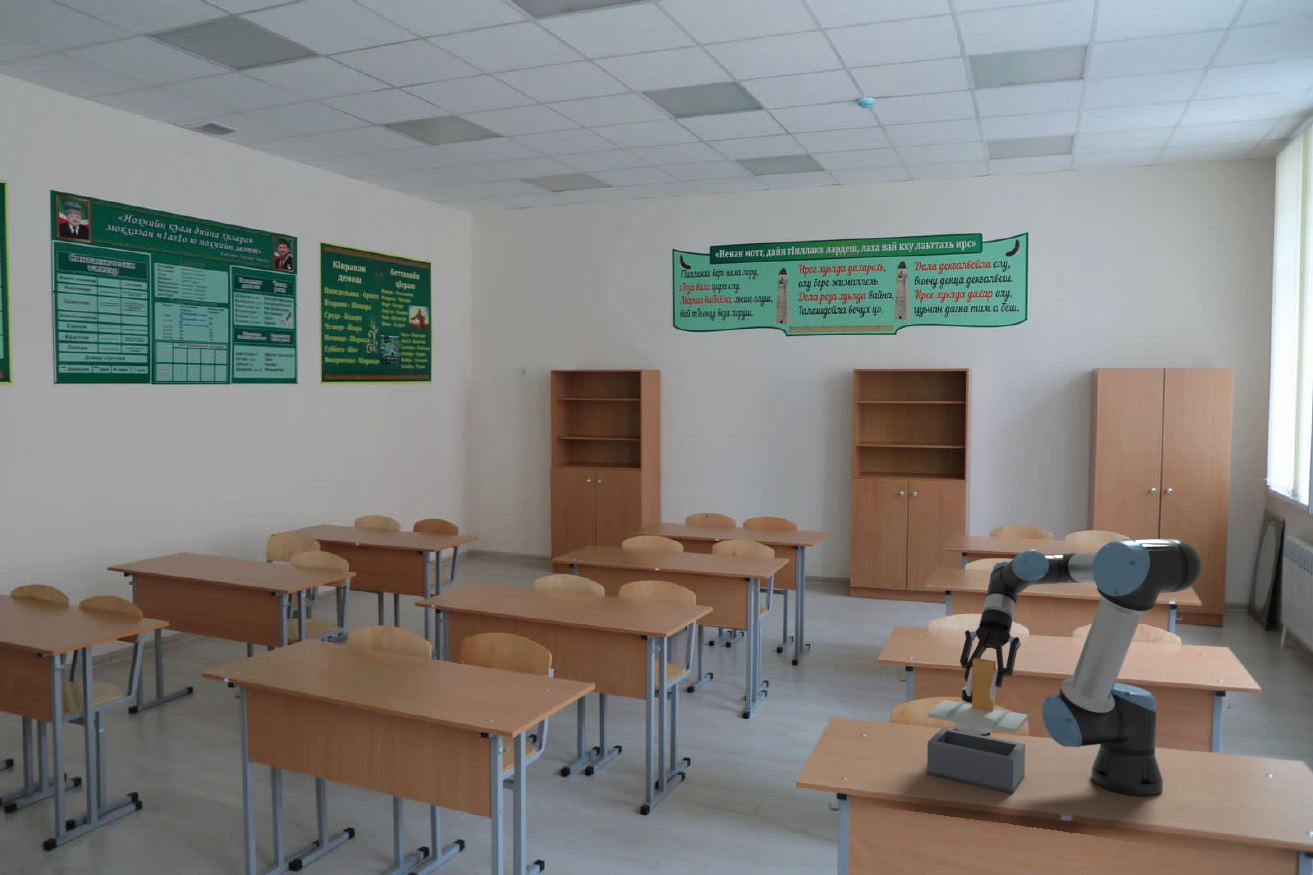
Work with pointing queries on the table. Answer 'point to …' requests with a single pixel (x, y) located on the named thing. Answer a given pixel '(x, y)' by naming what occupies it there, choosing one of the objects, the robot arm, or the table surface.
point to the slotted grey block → (980, 704)
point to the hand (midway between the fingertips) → (979, 694)
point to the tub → (976, 760)
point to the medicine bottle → (970, 728)
